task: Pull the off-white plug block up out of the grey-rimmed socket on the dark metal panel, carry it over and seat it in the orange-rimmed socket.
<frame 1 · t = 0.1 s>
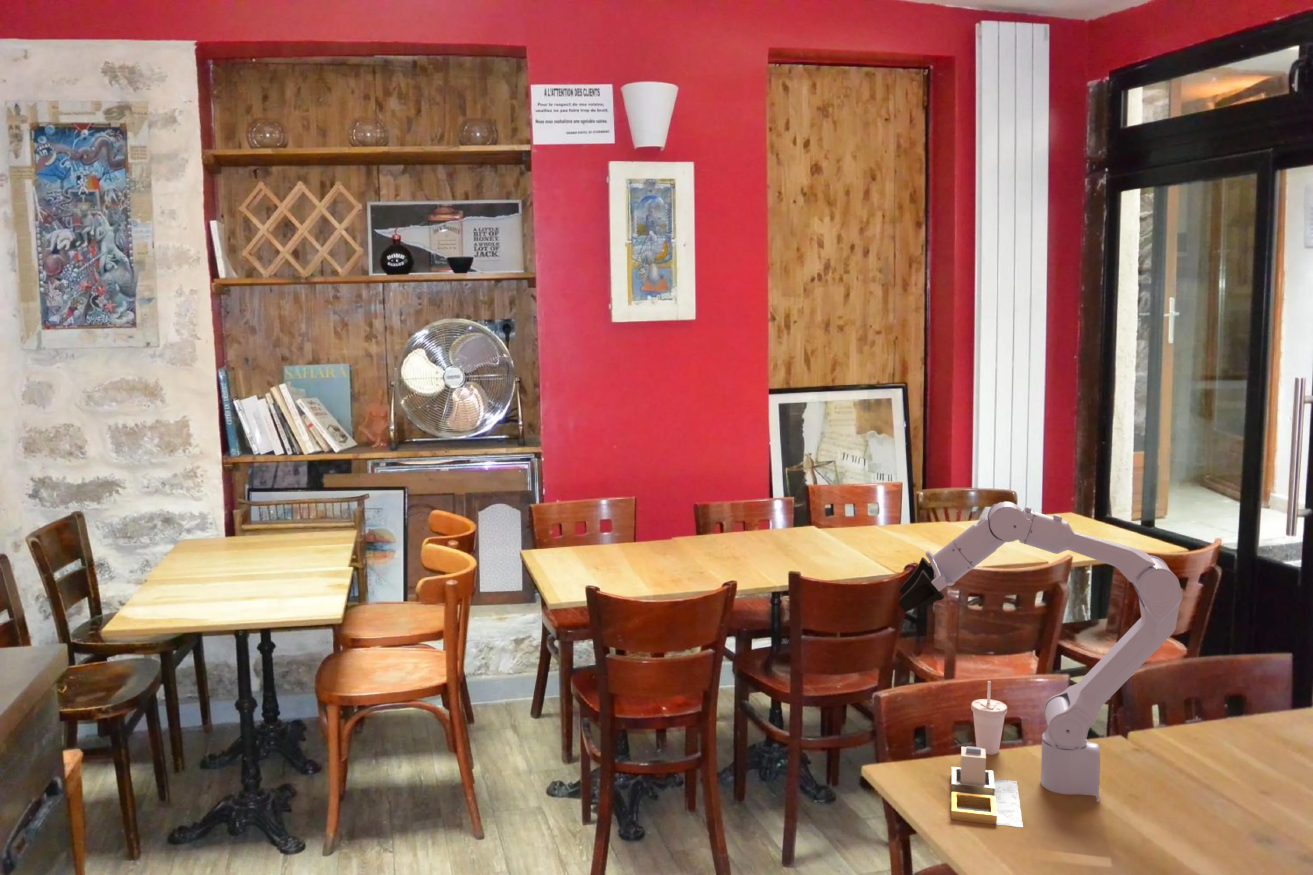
hand: (902, 600, 194), 32 cm above the table, tool tilted 50°, fingers open, 7 cm apart
panel: (985, 805, 186), on the table
smoothie: (987, 755, 205), on the table
plug: (972, 785, 191), point 1 cm above the table, touching panel
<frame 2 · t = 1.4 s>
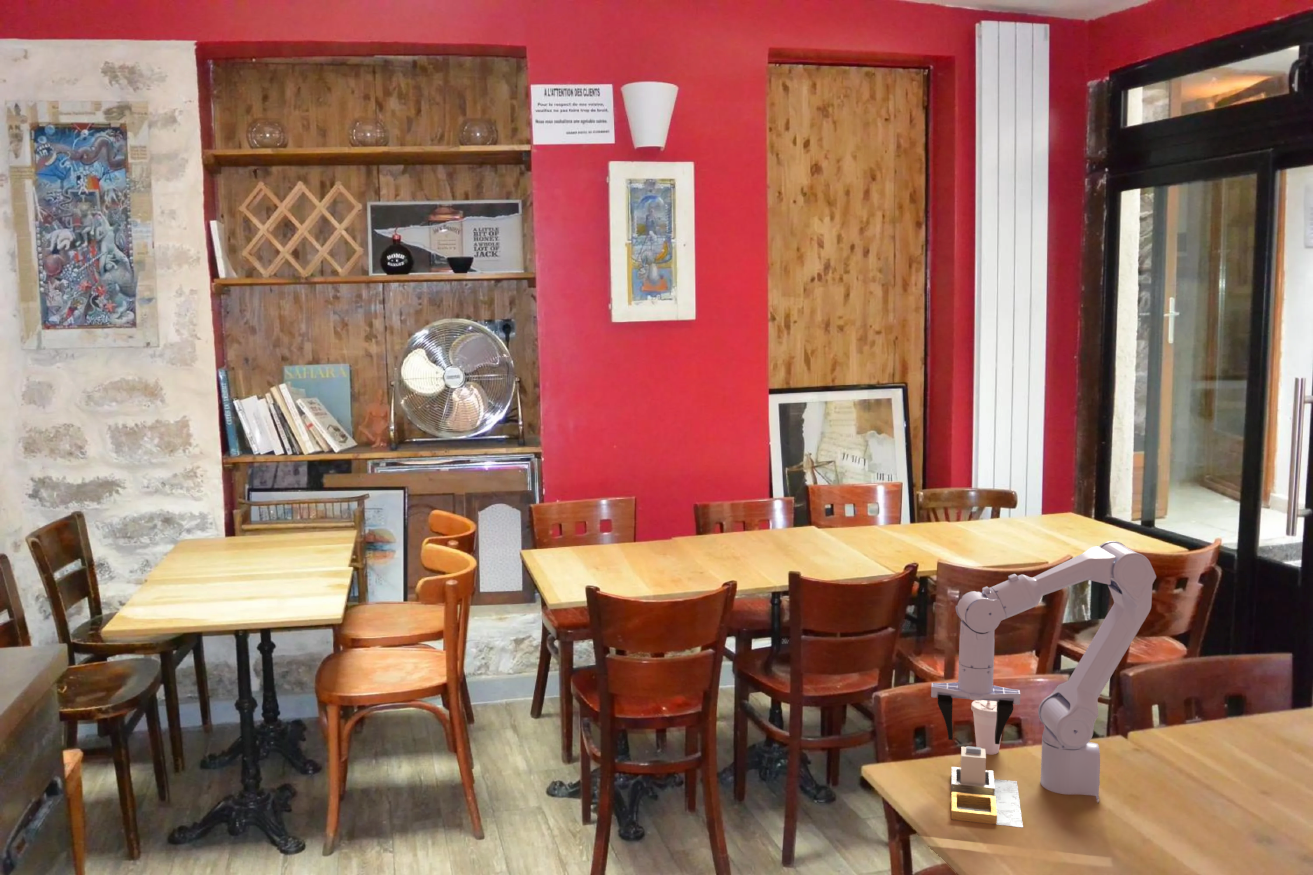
hand: (973, 739, 190), 9 cm above the table, tool pointing down, fingers open, 7 cm apart
nothing on the table moved.
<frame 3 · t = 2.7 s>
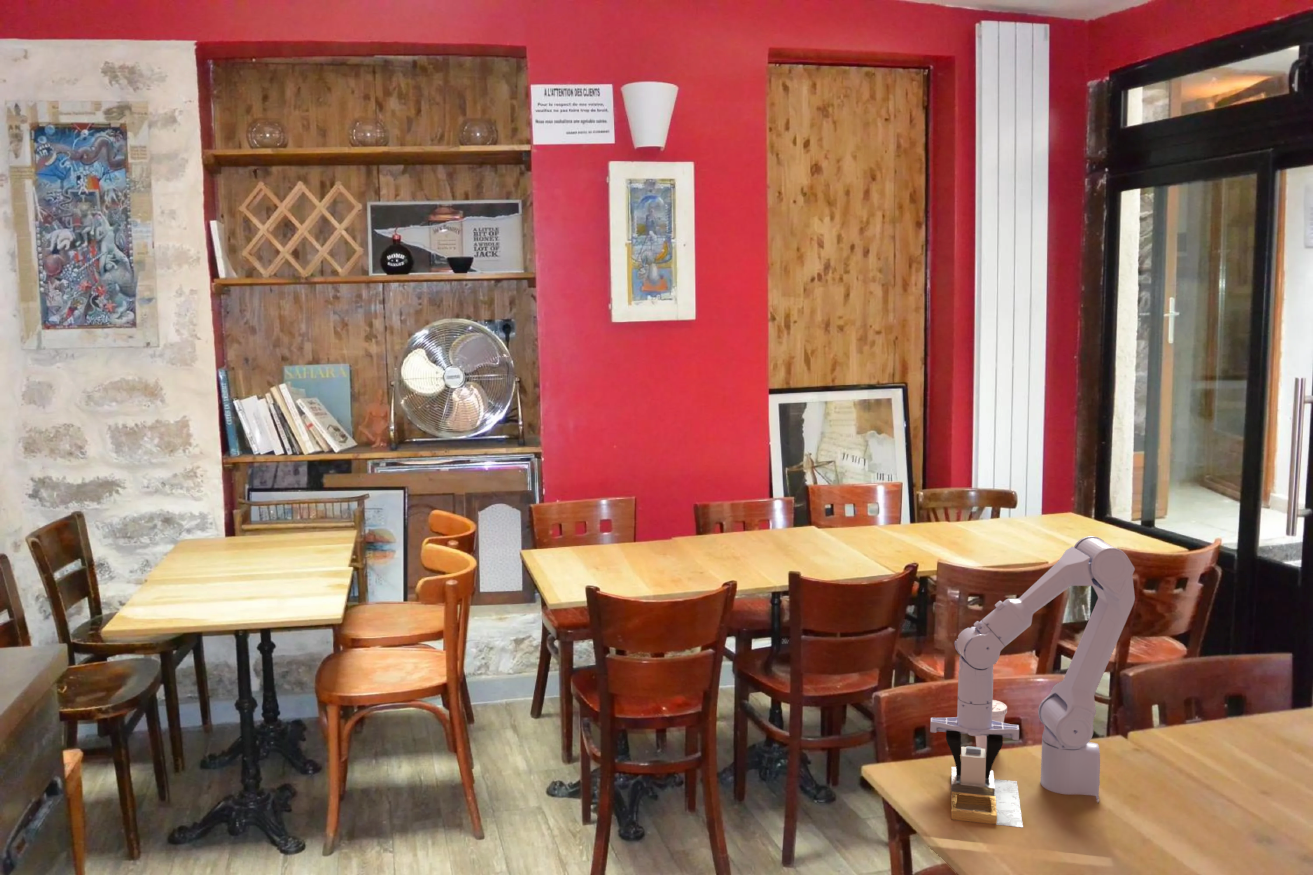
hand: (972, 774, 190), 3 cm above the table, tool pointing down, fingers closed on plug, 4 cm apart
plug: (972, 785, 191), point 1 cm above the table, touching gripper, panel
everything else where it was.
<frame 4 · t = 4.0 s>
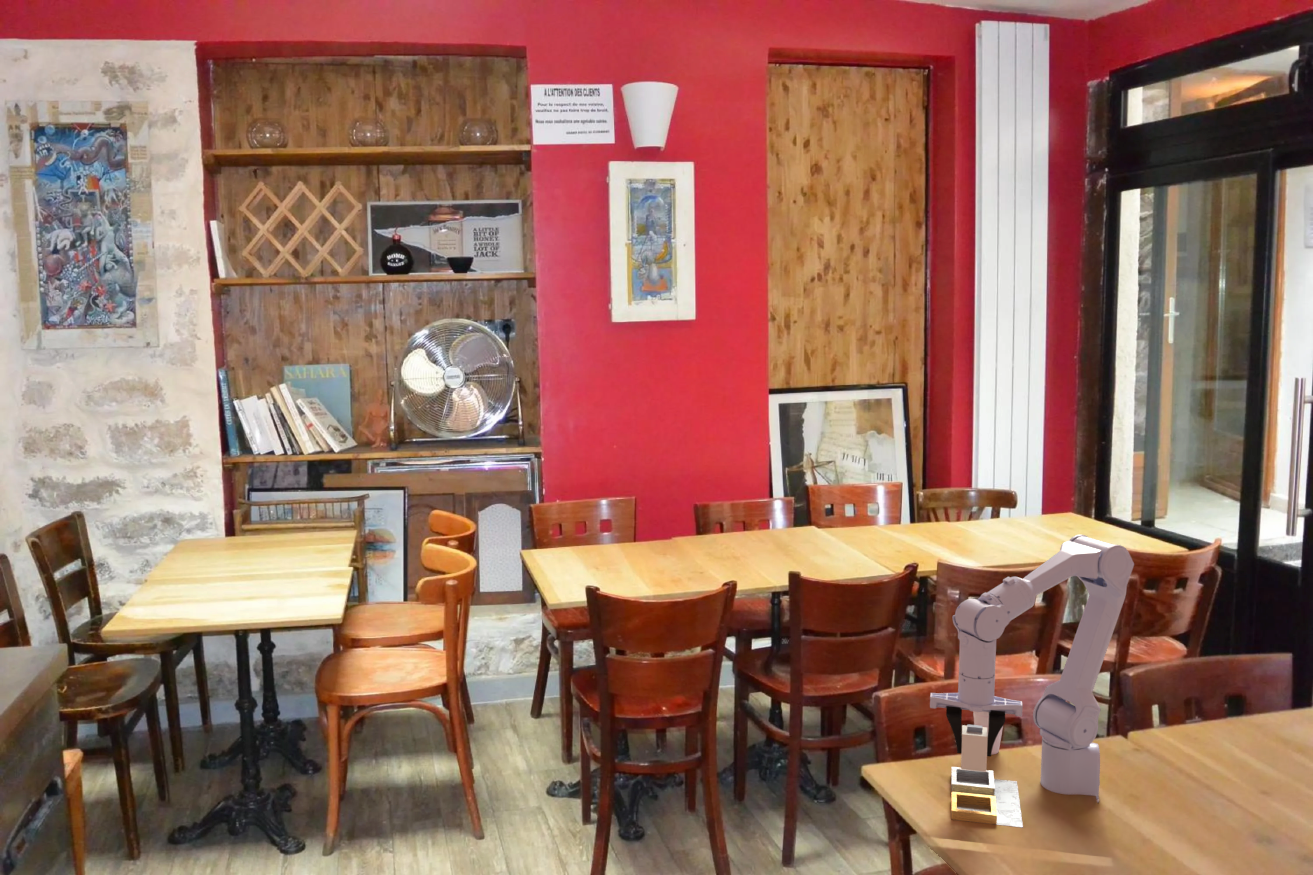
hand: (973, 752, 183), 10 cm above the table, tool pointing down, fingers closed on plug, 4 cm apart
plug: (973, 765, 183), point 8 cm above the table, touching gripper
everything else where it was.
when the fingers open (4 cm above the table, at t = 5.7 s): plug stays where it is, resting on panel.
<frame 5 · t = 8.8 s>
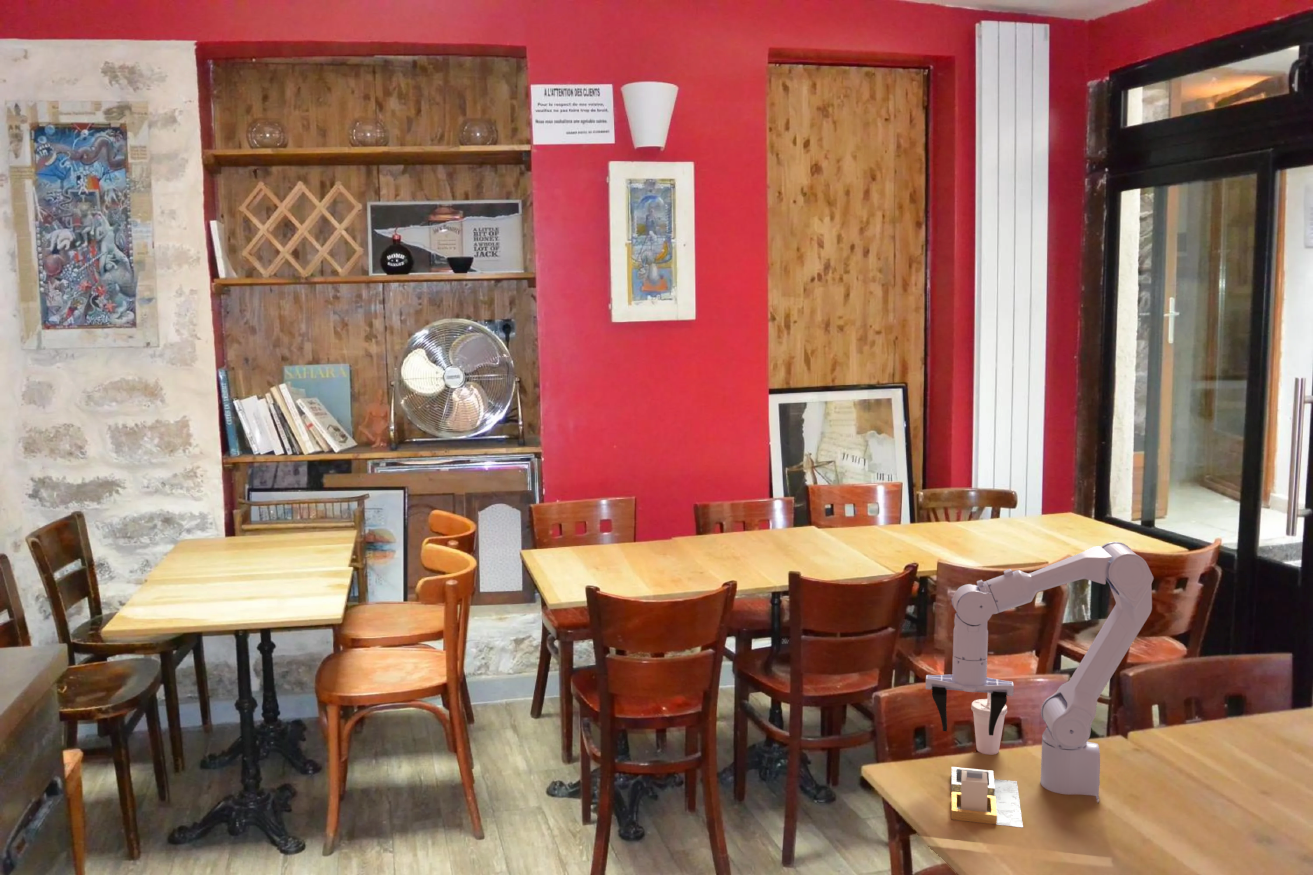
hand: (967, 730, 192), 10 cm above the table, tool pointing down, fingers open, 7 cm apart
plug: (973, 811, 181), point 1 cm above the table, touching panel
everything else where it was.
at the end: plug 0.2 cm from the target spot on the panel, point 1.0 cm above the panel's base; plug tilted 0°; the gripper is holding nothing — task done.
